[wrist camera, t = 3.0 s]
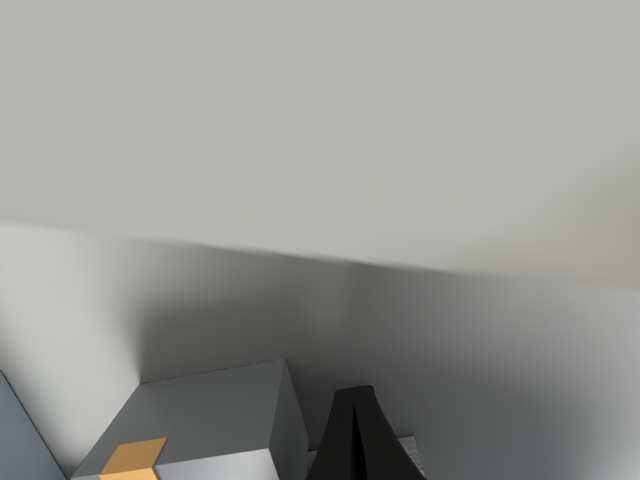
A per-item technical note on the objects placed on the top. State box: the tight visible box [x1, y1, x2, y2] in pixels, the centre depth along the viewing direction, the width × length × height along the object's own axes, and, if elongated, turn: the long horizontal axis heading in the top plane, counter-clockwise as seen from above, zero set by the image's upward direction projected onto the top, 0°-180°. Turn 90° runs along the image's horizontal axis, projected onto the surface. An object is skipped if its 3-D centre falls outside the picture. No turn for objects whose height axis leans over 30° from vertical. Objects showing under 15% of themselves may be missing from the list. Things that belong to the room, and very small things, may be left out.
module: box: [70, 359, 309, 480], centre depth 12 cm, size 6×4×4 cm
